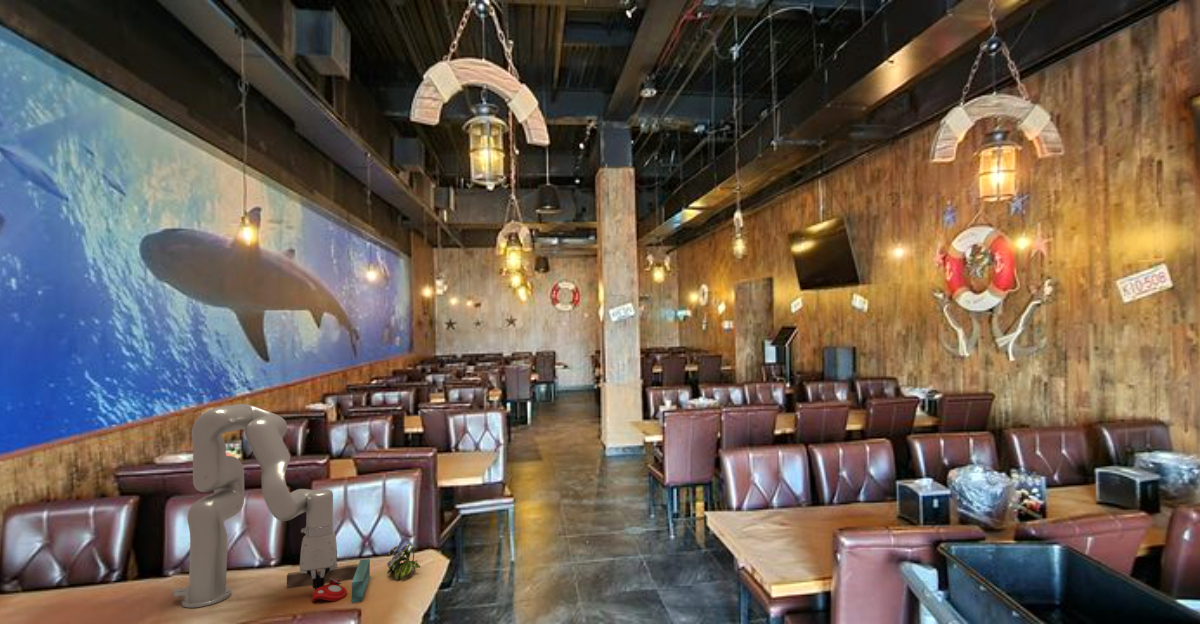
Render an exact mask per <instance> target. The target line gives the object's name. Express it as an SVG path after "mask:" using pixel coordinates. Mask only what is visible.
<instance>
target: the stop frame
mask: <svg viewBox="0 0 1200 624" xmlns="http://www.w3.org/2000/svg"><path fill="white" fill-rule="evenodd" d="M370 566H371V559H370V558H364V559H360V560H359V563H357V564H356V563H355V564H349V565H343V566H341V565H340V566H337V568H336V569H333V570H330V571H329V572H328V573H327V574H326V575H325V576H324V584H329V583H330V581H331V579H330V578H333V579H338V580H340V582H342V581H348V580H349V581H350V580H352V581H351V604H354V603H360V602H363V601H364V597H365V594H366V591H367V587H368V583H369V580H370V577H371V573H370V572H371V567H370ZM317 572H318V575H320V573H321V569H317ZM305 586H313V579H312V577H311V576H310V575H308V574H307V573H300V571H296V572H295V571H294V572H288V573H287V575H286V589H290V588H291V589H292V588H299V587H305Z"/></svg>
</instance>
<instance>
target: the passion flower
mask: <svg viewBox="0 0 1200 624" xmlns="http://www.w3.org/2000/svg"><path fill="white" fill-rule="evenodd" d="M410 545H411V543H408V544H407V545H404V546H403V547H402V548H400V550H399V551H397V552H395V550H396V549H397V548H398V545H396V546H394V547H393V548H392V549H390V551H389V552H388V553H387V557H389V556H391V555H392V554H393V556H392V558H391V559H390V560H389V561H388V562H387V563H386V564H387V565H386V568H387V567H388V570H387V572H386V573H387V574H394V580H396V581H399V577H400V579H403V578H404V577H405V576H408V575H409V574H410V573H411V571H412V569H413V572H414V573H416V568H419V569H420V568H421V565H420V564H419V563H418V560H415V552H416V551H415V550H416V547H415V546H414V545H411V547H410ZM409 548H410V549H409ZM411 553H412V560H410V557H411ZM402 561H403V562H402Z"/></svg>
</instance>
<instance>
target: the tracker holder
mask: <svg viewBox="0 0 1200 624" xmlns="http://www.w3.org/2000/svg"><path fill="white" fill-rule="evenodd" d="M330 579H331V581H330V582H328V583H327V584H324V586H321V587H319V588H317V589H316V590H315V589H314V591H313V592H312V594H311V600H312V602H313V603H316V602H318V601H319V600H324V601H325V600H326V601H331V602H338V601H341V600H342V599H345V597H346V596H347V594H348V590H347V588H345V587H344V586H342V582H341V581H340V580H338V579H333V578H330Z"/></svg>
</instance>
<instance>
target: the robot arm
mask: <svg viewBox="0 0 1200 624" xmlns="http://www.w3.org/2000/svg"><path fill="white" fill-rule="evenodd" d="M239 430H242V431H244V436H245V438H246V440H247V442H248V445H249V447H250V449H251V450H252V453H253V455H254V457H255V459H256V461H257V462H258V465H259V467H260V469H261V478H260V479H261V491H262V492H261V493H262V496H263V499H264V502H265V504H266V506H267V508H268V510H269V513H271V515H272V516H273V517H274V519H276V520H278V521H280V522H281V521H282V522H286V521H291V520H292V519H294V518H296V517H298V516H299V515H302V514H303V513H306V522H305V523H306V525H305V527H304V528H301V529H300V533H301V534H305V535H304V536H303V537H302V540H301V548H300V555H299V556H300V557H299V572H300V573H307V574H308V575H310V576H311V577H312V579H313V585H312V588H313V589H314V591H315V590H316V589H317V588H319V587H321V586H324V585H325V583H324V576H325V575H326V574H327V573H328V572H329V571H330V570H333V569H336V568H337V567H339V564H338V547H337V546H338V545H337V544H338V543H337V538H336V532H335V531H333V529H334V527H333V524H334V493H333V491H332V490H331V489H327V488H326V489H325V488H324V489H317V490H314V489H308V488H298V489H296V490H293V491H291V492H290V490H289V488H288V485H287V481H286V471H287V468H288V466H289V463H290V461H291V455H290V453H289V451H288V448H287V447H286V445H285V442H284V441H283V437H284V436H285V435H286V434H287V431H288V424H287V421H286V420H285V418H283V417H282V416H280V415H278V414H277V413H274V412H270V411H268V410H265V409H262V408H260V407H257V406H254V405H251V404H247V403H238V404H237V403H235V404H229V405H222V406H218V407H214V408H212V409H209V410H207V411H205V412H203V413H201V414H200V415H199V416H198V417H197V418H196V419H195V421H194V423H193V425H192V429H191V439H192V483H193V487H194V488H195V490H196V491H198V492H202V493H209V492H213V493H211V494H208V495H206V496H204V497H202V498H200V499H198V500H196V501H195V502H194V503H193V504H192V505H191V506H190V508H189V509H188V512H187V525H188V531H189V540H190V541H189V545H190V546H189V569H188V571H189V573H188V574H189V575H188V585H187V586H186V587H178V588H174V589H173V591H172V595H173V597H174V598H180V597H183V598H182V600H181V605H182V607H185V608H187V609H190V608H191V609H192V608H195V609H196V608H201V607H206V606H211V605H213V604H214V605H215V604H217V603H219V602H220V603H221V602H222V601H224V600H225V599H228V598H229V597H230V596H231V595H232V593H233V589H232V588H231V587H230V586H227V571H228V570H227V566H228V565H227V563H228V559H227V558H228V532H227V529H226V527H225V523H224V522H225V521H227V520H229V519H231V518H232V517H234V516H236V515H237V514H239V513H240V512H241V510H242V509H243V507H244V504H245V470H244V469H245V467H244V466H243V464H242V462H241V460H240V459H239V458H237V457H236V456H232V455H226V454H227V452H226V451H227V446H226V441H225V439H224V437H223V434H227V433H231V432H235V431H239ZM317 569H321V573H320V575H318V572H317Z"/></svg>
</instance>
